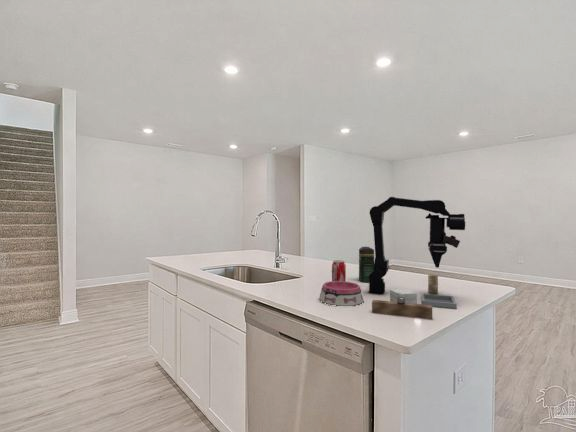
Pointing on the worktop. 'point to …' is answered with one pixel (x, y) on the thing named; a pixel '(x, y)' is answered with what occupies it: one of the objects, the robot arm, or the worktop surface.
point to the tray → (439, 301)
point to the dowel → (432, 284)
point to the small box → (403, 295)
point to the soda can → (338, 271)
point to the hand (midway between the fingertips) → (436, 265)
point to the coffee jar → (365, 263)
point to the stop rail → (402, 308)
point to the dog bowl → (341, 293)
